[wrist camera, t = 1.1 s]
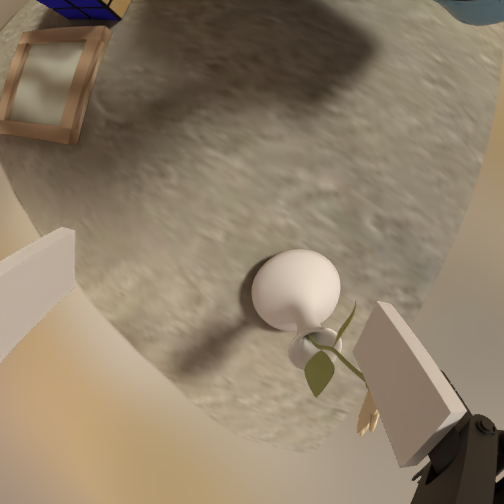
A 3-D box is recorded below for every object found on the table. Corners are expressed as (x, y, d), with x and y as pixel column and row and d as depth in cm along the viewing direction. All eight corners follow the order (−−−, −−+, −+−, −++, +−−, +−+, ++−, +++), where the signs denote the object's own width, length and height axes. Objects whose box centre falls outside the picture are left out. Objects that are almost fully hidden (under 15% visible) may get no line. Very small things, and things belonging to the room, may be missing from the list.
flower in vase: (304, 335, 42) (345, 491, 18) (234, 300, 40) (222, 468, 16) (360, 262, 38) (469, 391, 14) (290, 216, 36) (363, 335, 12)
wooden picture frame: (32, 35, 26) (23, 32, 24) (112, 31, 28) (105, 25, 25) (4, 132, 31) (-7, 132, 28) (77, 144, 32) (67, 144, 30)
